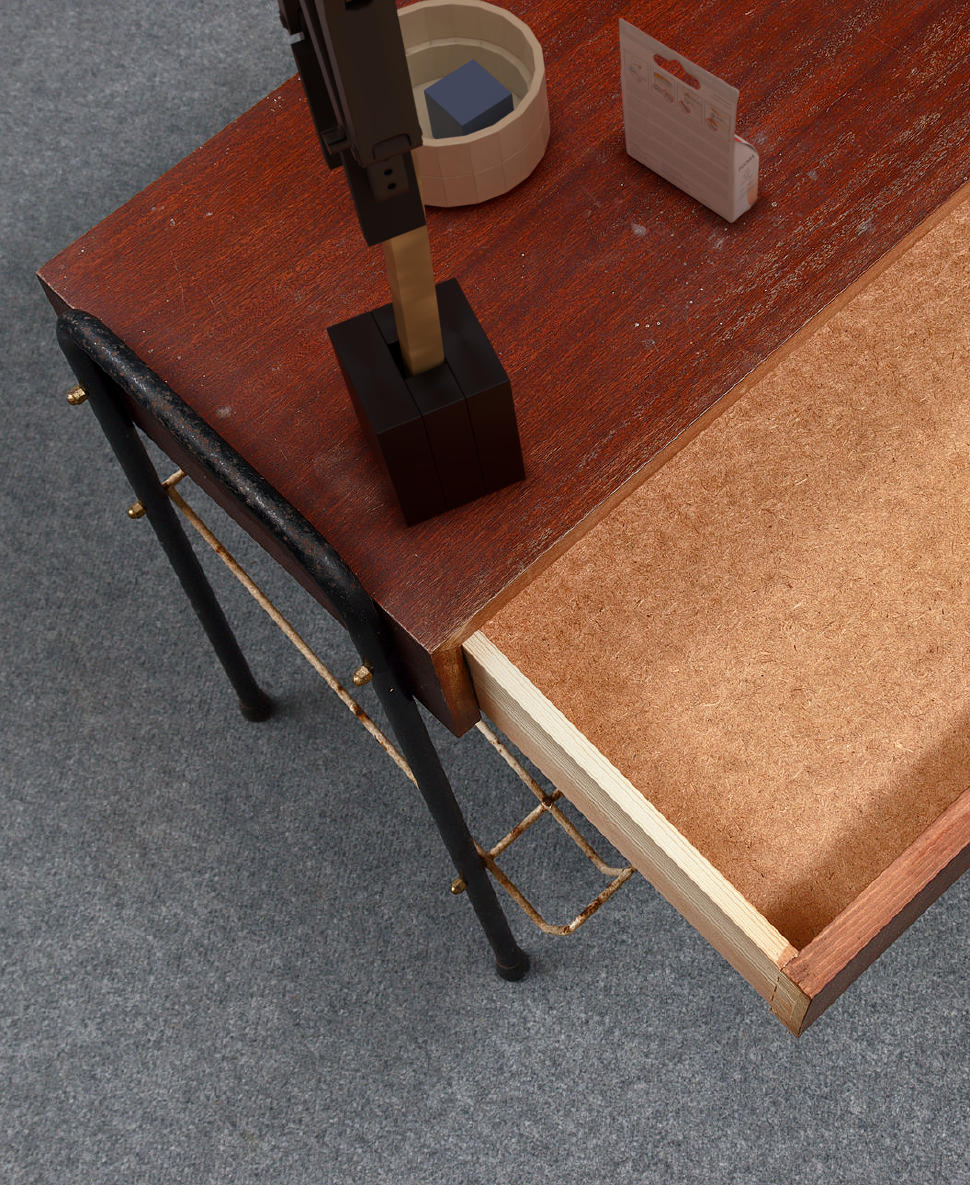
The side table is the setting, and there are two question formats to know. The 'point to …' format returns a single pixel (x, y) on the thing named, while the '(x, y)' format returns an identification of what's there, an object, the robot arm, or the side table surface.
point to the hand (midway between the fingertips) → (374, 190)
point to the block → (466, 102)
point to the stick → (414, 295)
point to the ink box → (685, 127)
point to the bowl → (513, 57)
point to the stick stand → (432, 409)
